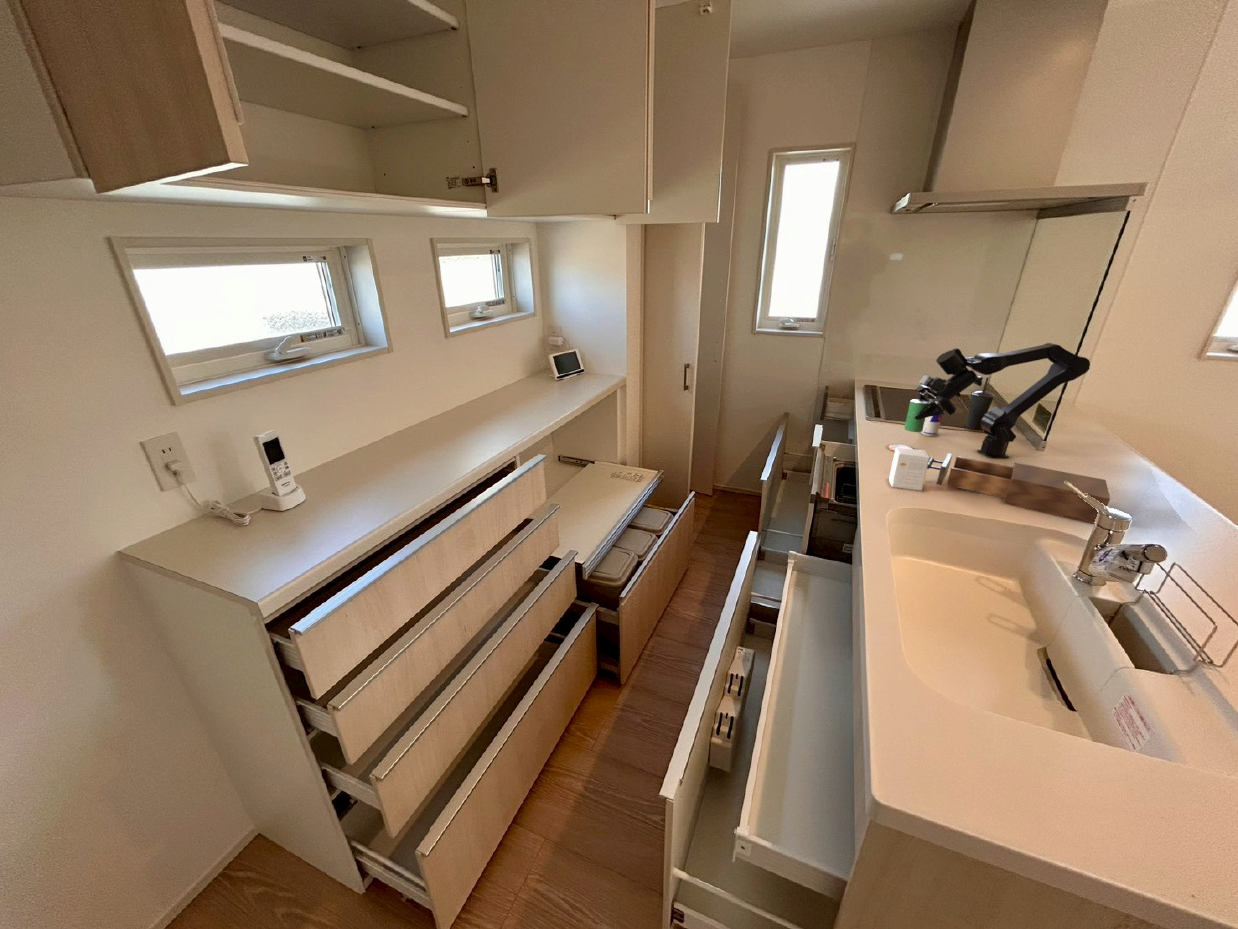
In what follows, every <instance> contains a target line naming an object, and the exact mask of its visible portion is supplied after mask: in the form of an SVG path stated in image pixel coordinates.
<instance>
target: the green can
mask: <svg viewBox="0 0 1238 929" xmlns="http://www.w3.org/2000/svg"><path fill="white" fill-rule="evenodd" d="M927 405H928V401H925V400H920V399H918V398H915V399H911V400H910V402H909V405H908V409H907V410H908V411H907V415H906V419H905V424H904V428H903V429H904V430H905V431H907V432H911V433H921V432H922V431H923V426H924V422H925V418H922V419H918V420H916V419H915V418H914V417H915V416H916V415H917V414H918V413H919V412H921V411H922V410H923V409H924V408H925V407H926V406H927Z"/></svg>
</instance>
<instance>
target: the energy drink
mask: <svg viewBox="0 0 1238 929" xmlns="http://www.w3.org/2000/svg"><path fill="white" fill-rule="evenodd" d="M942 419H943V415H942V414H940V415H935V416H930V417H926V418H925V422H924V426H923V431H922V432H920V434H922V435H924V436H927V437H936V436H938V433H939V429H940V425H941V422H942Z"/></svg>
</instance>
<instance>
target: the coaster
mask: <svg viewBox="0 0 1238 929" xmlns="http://www.w3.org/2000/svg"><path fill="white" fill-rule="evenodd" d="M896 448H904V449H913V448H912V447H910V446H908V445H904V444H894V443H893V444H890V445H888V450H890V451H893V452H895V449H896Z"/></svg>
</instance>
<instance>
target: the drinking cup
mask: <svg viewBox="0 0 1238 929" xmlns="http://www.w3.org/2000/svg"><path fill="white" fill-rule="evenodd" d="M989 379H990V378H989V377H986V378H985V382H984V385H983V389H982V390H981V389H980V390H975V391H971V392H970V402H969V408H968V413H967V418H966V425H965V428H967V429H969V430H974V431H980V430H981V429H982V427H981V420H982V418H983V417H984V416H985V415H984V414H986V413H988V412H989V411H990V409H991V406H992V403H993V400H994V398H995V397H996V395H995V394H994V393H992V392H991V391H988V390H986V389H987V385H988V382H989Z"/></svg>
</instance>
